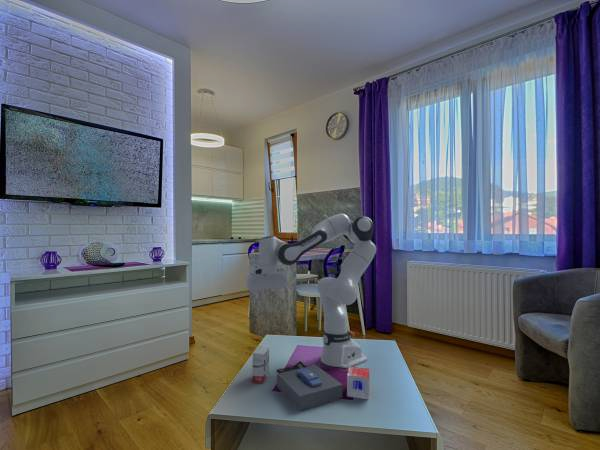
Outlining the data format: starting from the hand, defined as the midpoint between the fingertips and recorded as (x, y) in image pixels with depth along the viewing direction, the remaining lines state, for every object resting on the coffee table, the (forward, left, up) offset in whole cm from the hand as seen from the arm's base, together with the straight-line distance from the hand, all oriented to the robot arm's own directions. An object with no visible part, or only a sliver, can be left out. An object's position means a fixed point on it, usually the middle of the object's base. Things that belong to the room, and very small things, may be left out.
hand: (267, 297), depth 152 cm
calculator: (-4, +20, -30) cm, 36 cm away
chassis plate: (-2, +37, -29) cm, 47 cm away
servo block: (-2, +37, -29) cm, 47 cm away
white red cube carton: (-19, +46, -29) cm, 58 cm away
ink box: (+10, +18, -29) cm, 36 cm away
